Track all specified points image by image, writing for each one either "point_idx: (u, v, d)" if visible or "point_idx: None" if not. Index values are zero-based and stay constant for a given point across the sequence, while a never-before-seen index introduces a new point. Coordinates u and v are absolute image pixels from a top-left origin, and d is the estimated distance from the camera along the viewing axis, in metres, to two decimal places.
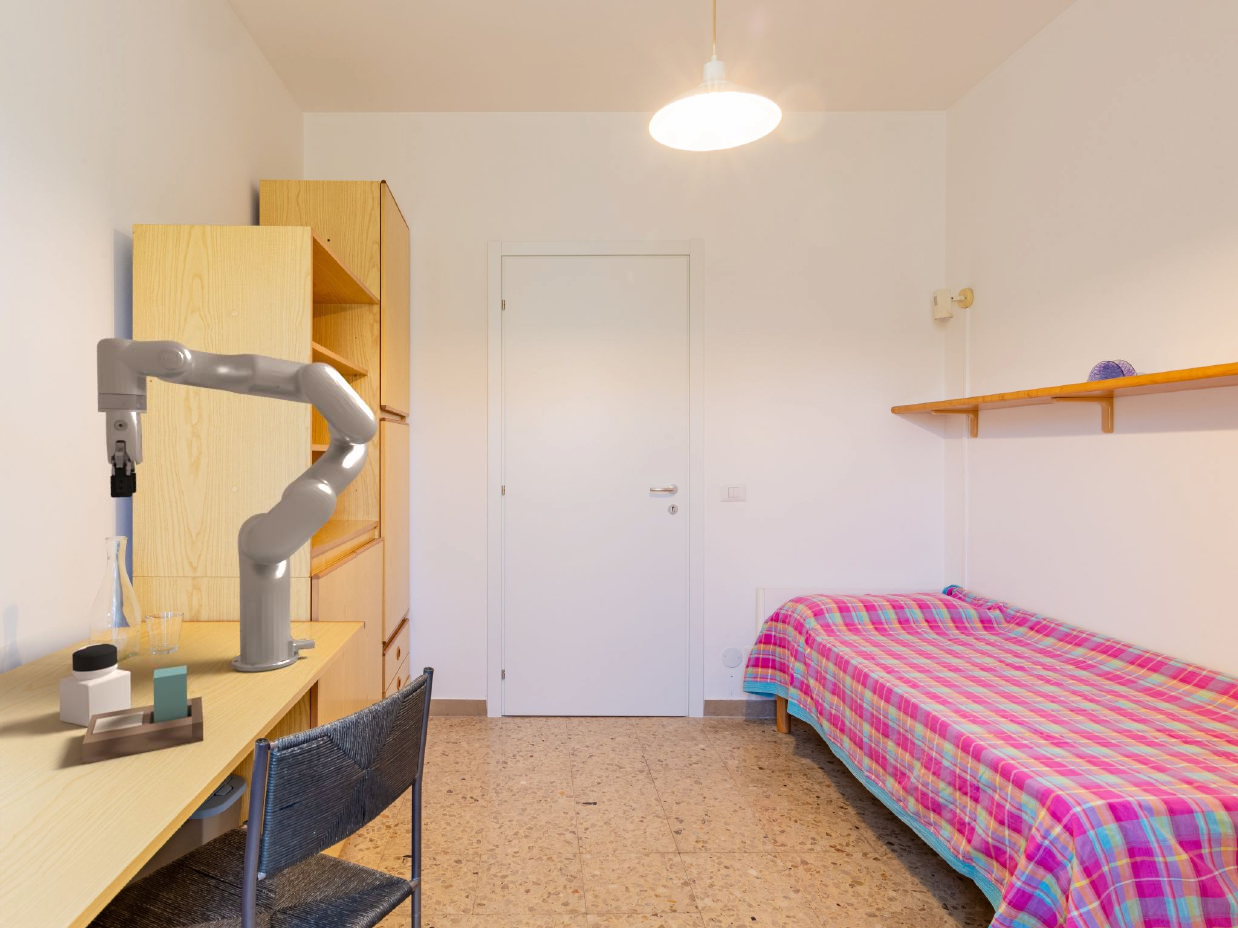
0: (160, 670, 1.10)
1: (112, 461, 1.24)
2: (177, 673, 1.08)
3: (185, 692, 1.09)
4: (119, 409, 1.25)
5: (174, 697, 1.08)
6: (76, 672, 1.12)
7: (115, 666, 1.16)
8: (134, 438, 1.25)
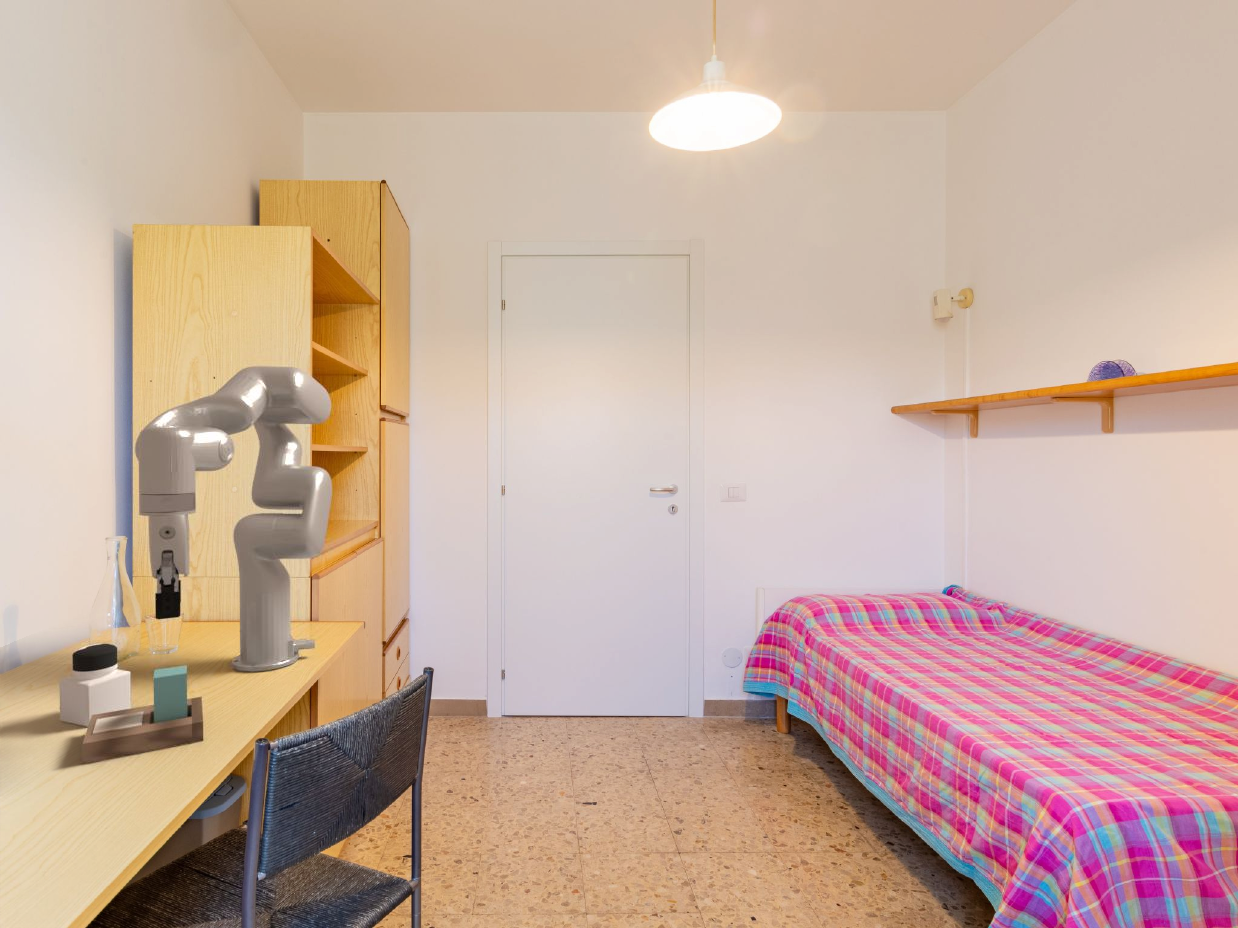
0: (160, 670, 1.10)
1: (157, 575, 1.04)
2: (177, 673, 1.08)
3: (185, 692, 1.09)
4: (165, 512, 1.05)
5: (174, 697, 1.08)
6: (76, 672, 1.12)
7: (115, 666, 1.16)
8: (183, 546, 1.05)
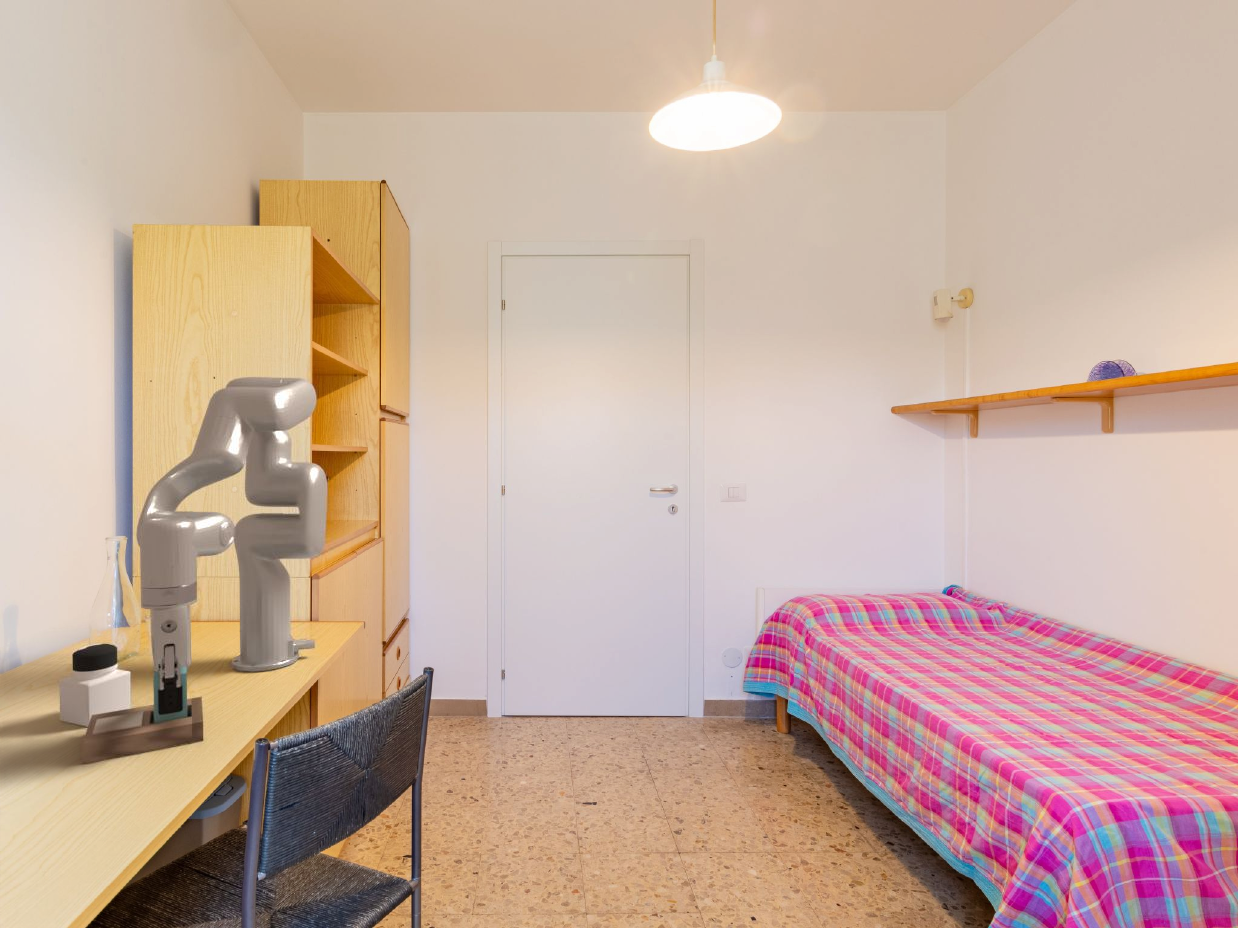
0: None
1: (160, 673, 1.06)
2: None
3: (185, 692, 1.09)
4: (167, 605, 1.05)
5: None
6: (76, 672, 1.12)
7: (115, 666, 1.16)
8: (185, 639, 1.06)
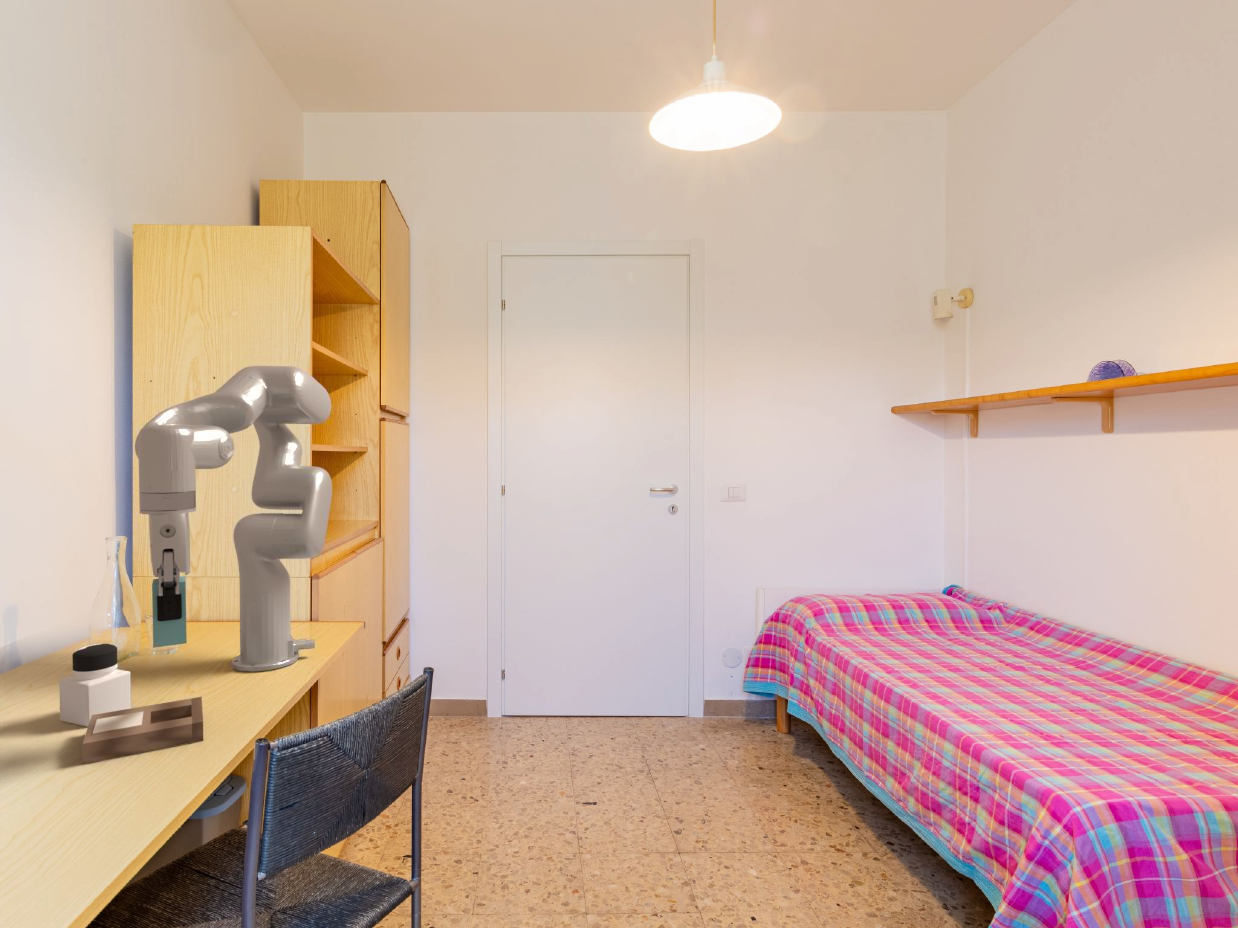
0: None
1: None
2: None
3: (184, 600, 1.08)
4: (166, 511, 1.05)
5: None
6: (76, 672, 1.12)
7: (115, 666, 1.16)
8: (184, 545, 1.05)
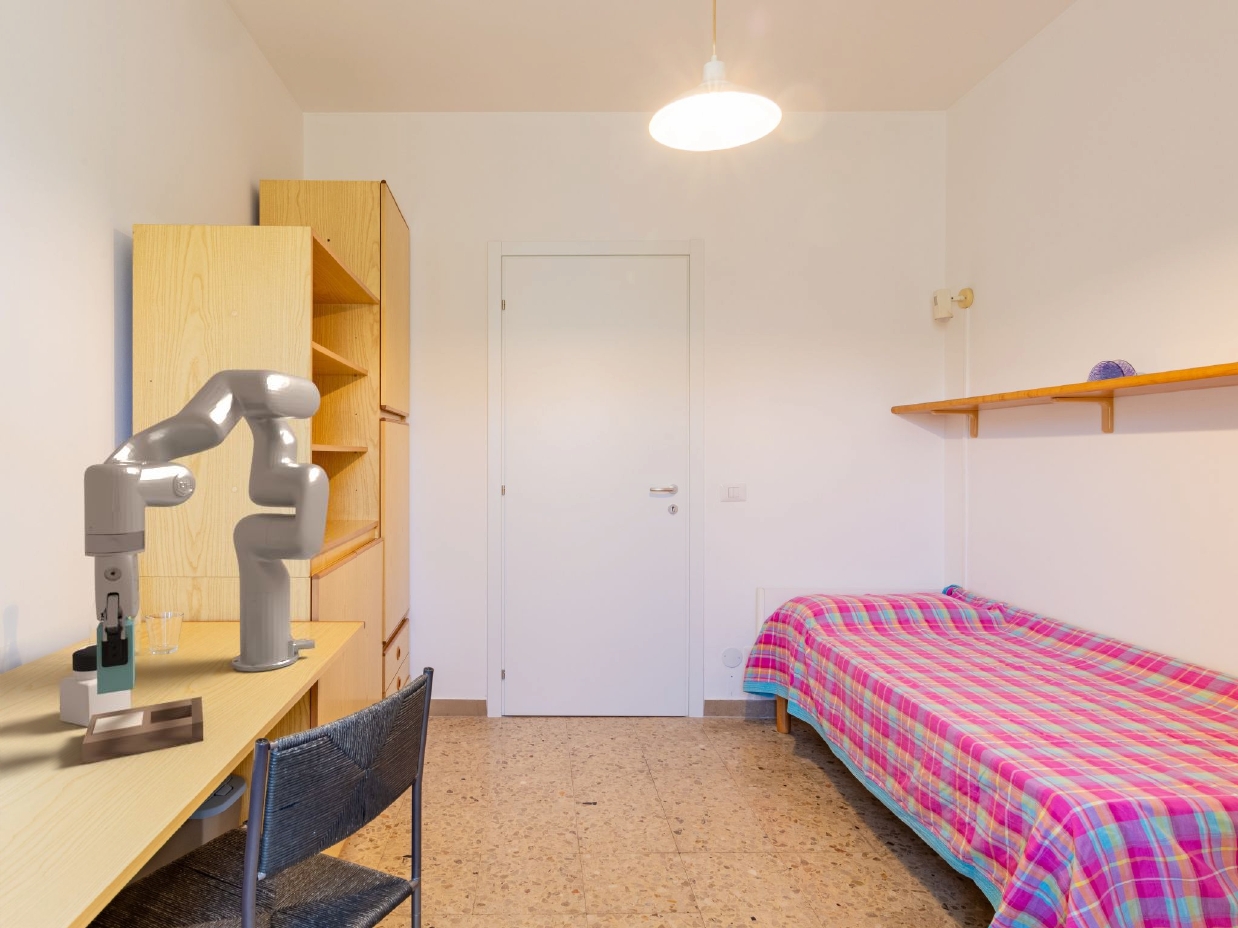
0: None
1: (103, 623, 1.01)
2: None
3: (131, 645, 1.04)
4: (111, 553, 1.01)
5: None
6: (76, 672, 1.12)
7: None
8: (130, 588, 1.02)
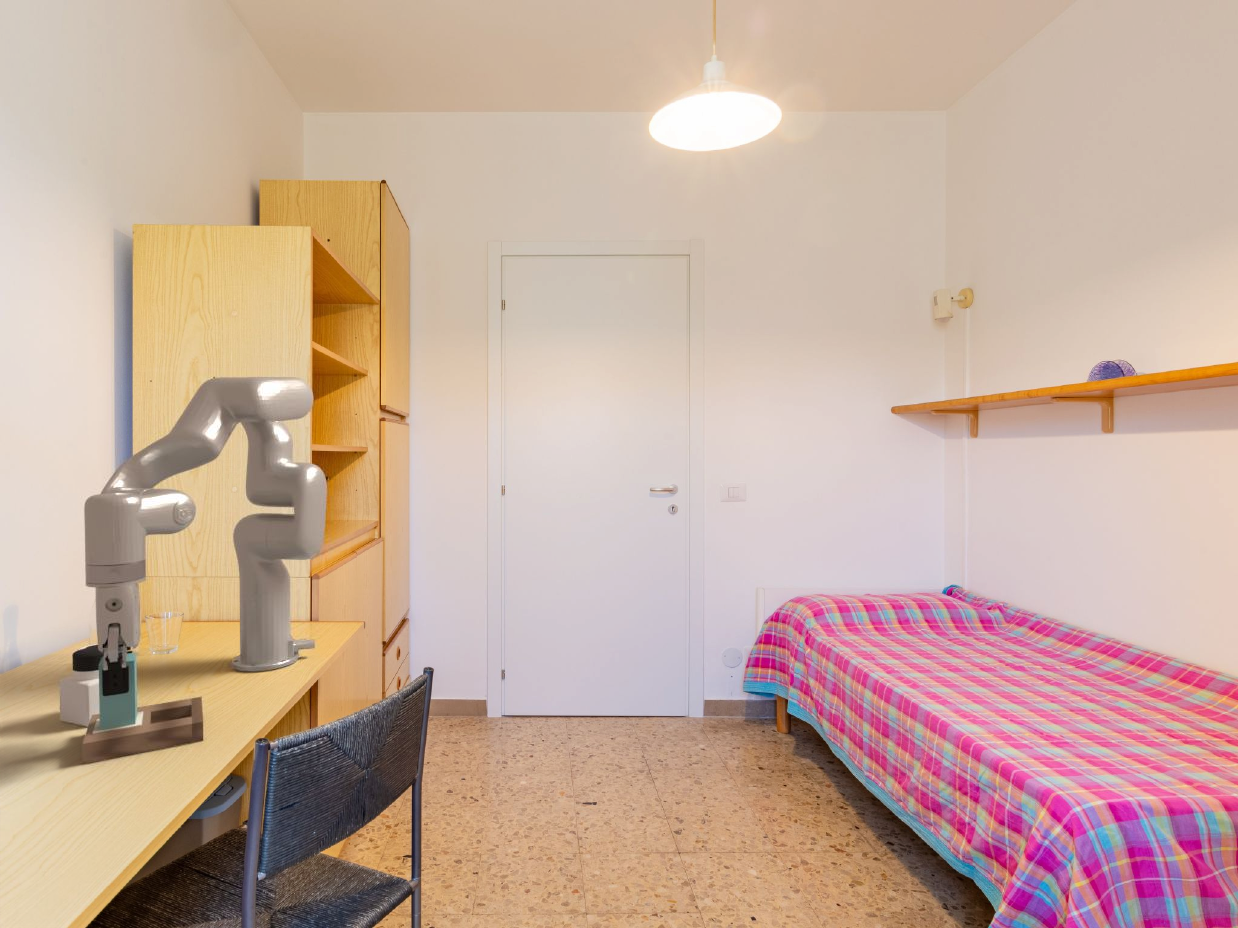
0: None
1: (104, 651, 1.01)
2: None
3: (133, 680, 1.05)
4: (112, 583, 1.02)
5: None
6: (76, 672, 1.12)
7: None
8: (131, 618, 1.02)
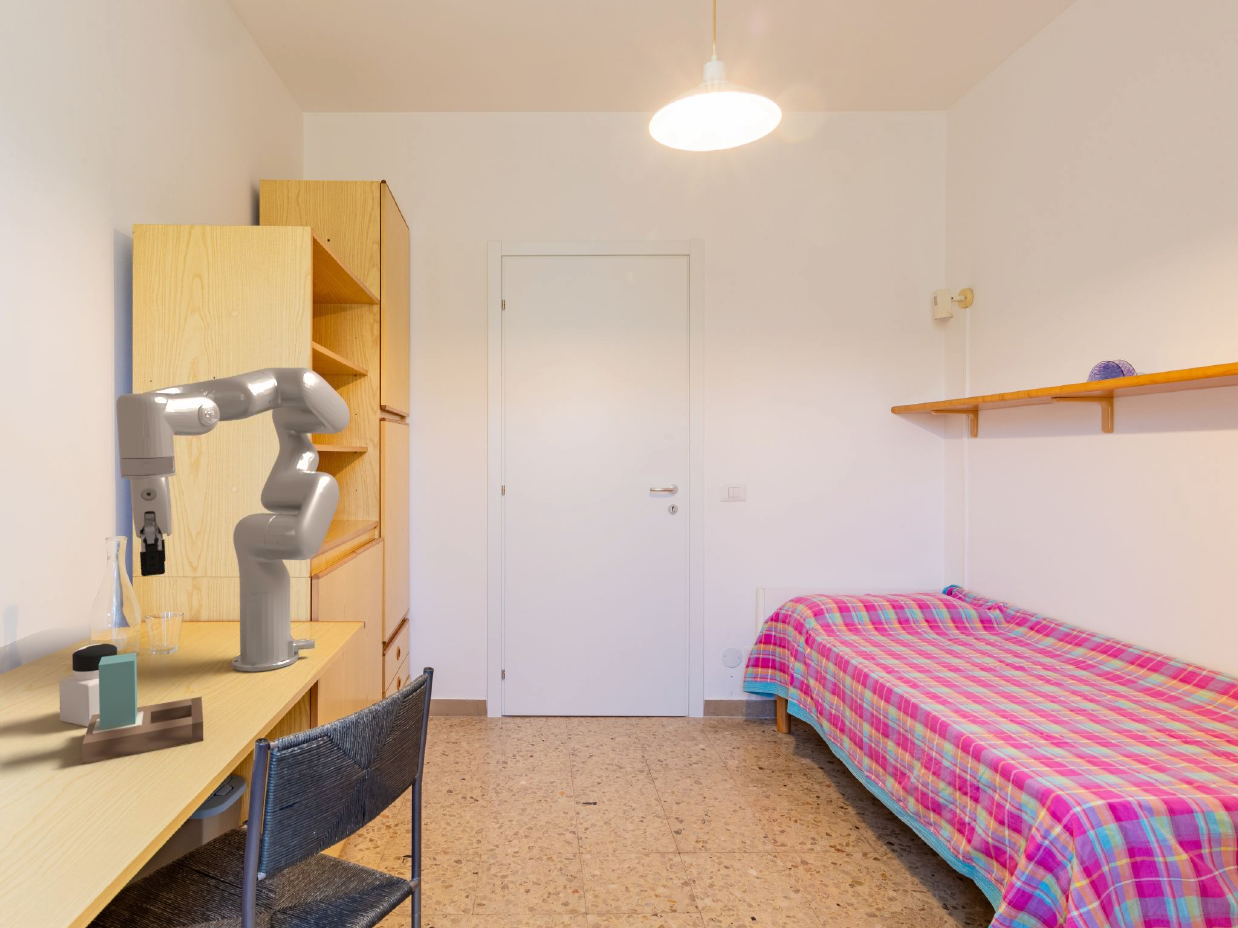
0: (108, 657, 1.06)
1: (141, 535, 1.09)
2: (125, 660, 1.04)
3: (133, 680, 1.05)
4: (146, 475, 1.10)
5: (121, 684, 1.04)
6: (76, 672, 1.12)
7: None
8: (164, 507, 1.11)
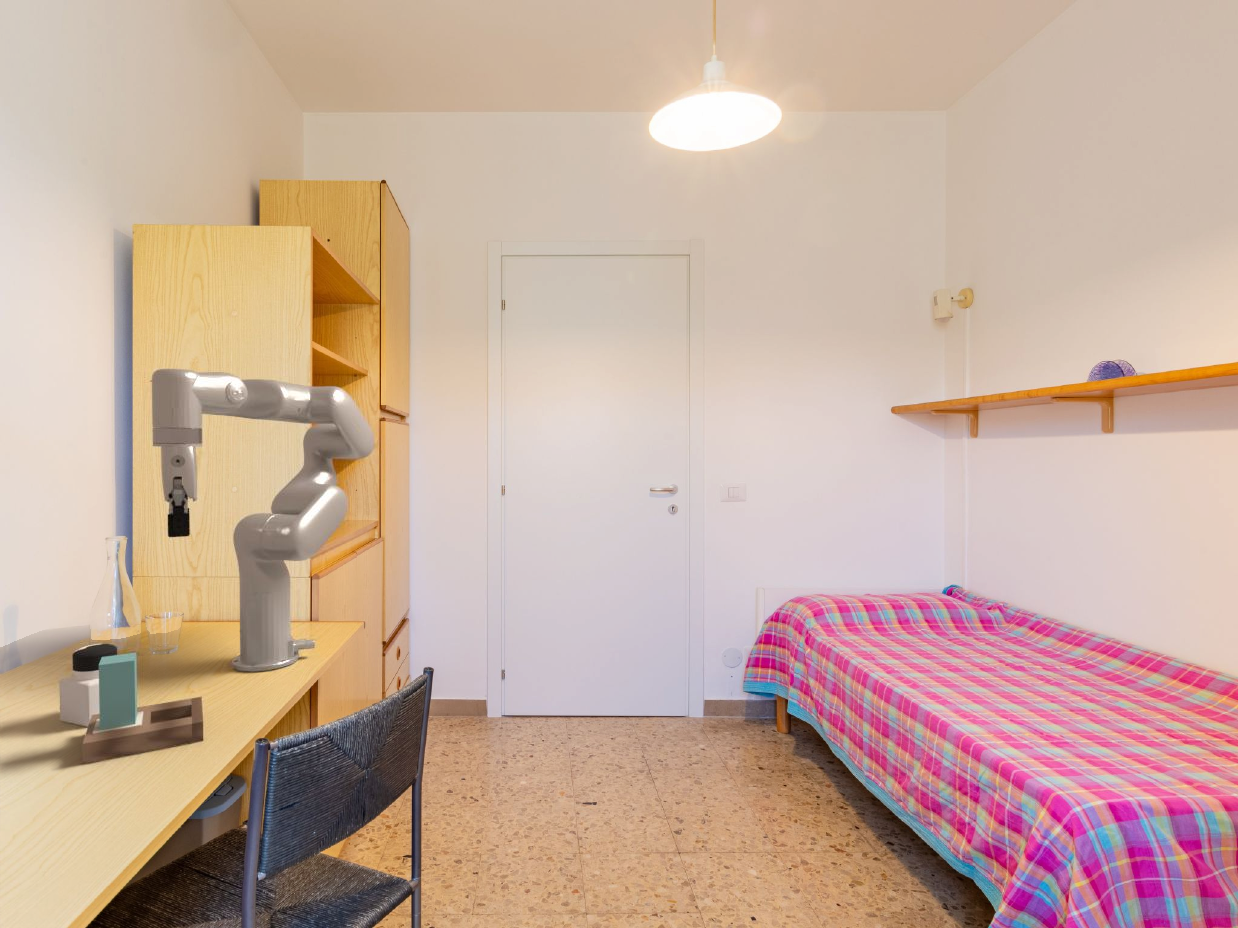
0: (108, 657, 1.06)
1: (169, 499, 1.18)
2: (125, 660, 1.04)
3: (133, 680, 1.05)
4: (176, 444, 1.19)
5: (121, 684, 1.04)
6: (76, 672, 1.12)
7: None
8: (192, 474, 1.19)
